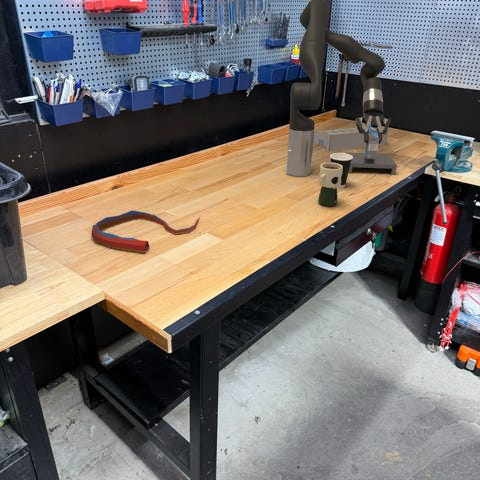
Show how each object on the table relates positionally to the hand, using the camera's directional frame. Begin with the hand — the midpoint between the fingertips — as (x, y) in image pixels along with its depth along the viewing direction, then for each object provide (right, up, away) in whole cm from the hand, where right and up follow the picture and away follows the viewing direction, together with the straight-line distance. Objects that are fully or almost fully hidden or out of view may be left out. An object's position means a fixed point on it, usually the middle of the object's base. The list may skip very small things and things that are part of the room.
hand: (373, 142), depth 176 cm
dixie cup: (-16, -18, -11) cm, 26 cm away
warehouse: (0, +7, +37) cm, 38 cm away
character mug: (-22, -26, -25) cm, 42 cm away
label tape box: (0, -4, +5) cm, 6 cm away
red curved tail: (-78, -35, -42) cm, 95 cm away
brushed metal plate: (0, -9, +7) cm, 11 cm away
